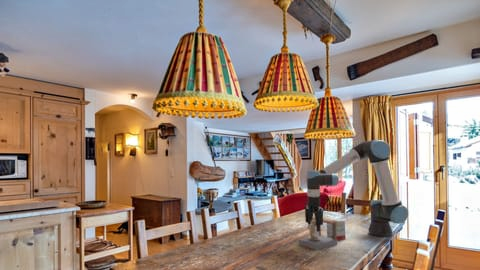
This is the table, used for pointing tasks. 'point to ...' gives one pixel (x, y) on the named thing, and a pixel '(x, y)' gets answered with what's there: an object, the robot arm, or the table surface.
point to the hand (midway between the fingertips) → (314, 235)
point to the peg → (313, 231)
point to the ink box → (337, 229)
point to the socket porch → (321, 238)
